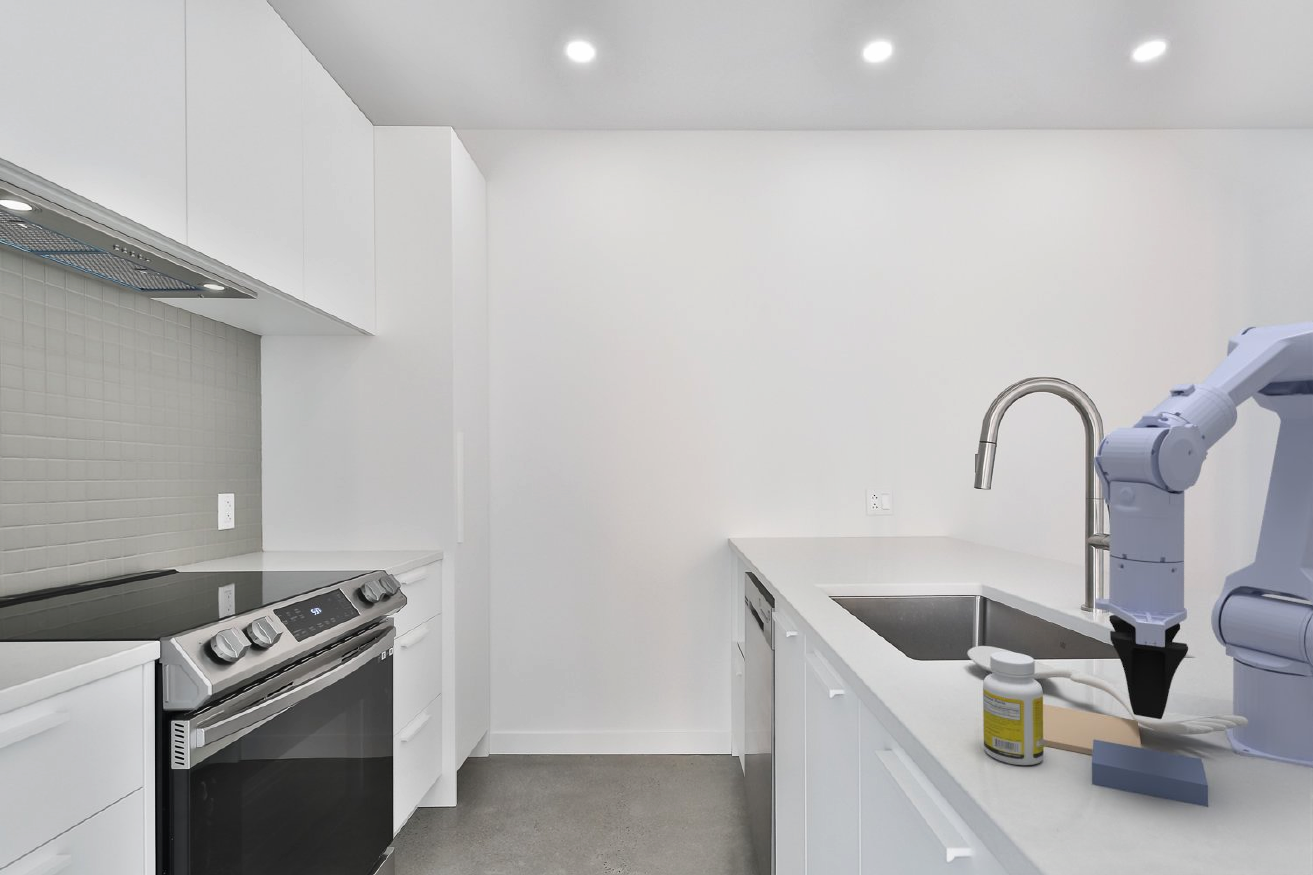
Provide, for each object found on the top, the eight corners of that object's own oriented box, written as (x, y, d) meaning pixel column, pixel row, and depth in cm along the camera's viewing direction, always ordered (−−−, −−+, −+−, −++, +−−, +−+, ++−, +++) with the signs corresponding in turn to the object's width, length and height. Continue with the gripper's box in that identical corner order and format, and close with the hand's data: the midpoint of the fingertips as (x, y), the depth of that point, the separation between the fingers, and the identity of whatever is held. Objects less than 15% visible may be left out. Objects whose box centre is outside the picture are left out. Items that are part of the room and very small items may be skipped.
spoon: (1185, 759, 69) (1185, 723, 69) (952, 666, 100) (952, 640, 100) (1251, 750, 72) (1251, 715, 72) (1005, 661, 102) (1005, 637, 103)
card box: (1201, 790, 67) (1201, 758, 67) (1208, 819, 62) (1207, 785, 62) (1093, 769, 71) (1093, 739, 71) (1092, 794, 67) (1091, 762, 67)
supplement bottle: (1024, 742, 75) (1024, 648, 75) (1054, 766, 70) (1055, 665, 70) (973, 743, 75) (973, 649, 75) (999, 767, 70) (999, 666, 70)
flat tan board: (1137, 725, 80) (1137, 720, 80) (1142, 765, 70) (1142, 758, 70) (997, 701, 87) (997, 696, 87) (985, 733, 78) (985, 728, 78)
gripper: (1095, 543, 75) (1095, 674, 75) (1094, 565, 63) (1094, 722, 63) (1179, 549, 71) (1178, 686, 71) (1196, 574, 59) (1195, 740, 59)
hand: (1145, 704), depth 67 cm, fingers open, 5 cm apart
